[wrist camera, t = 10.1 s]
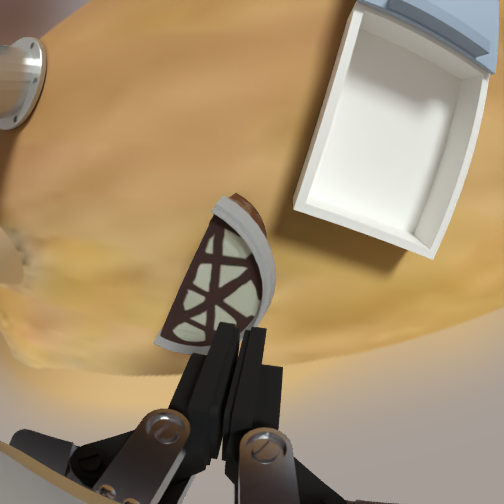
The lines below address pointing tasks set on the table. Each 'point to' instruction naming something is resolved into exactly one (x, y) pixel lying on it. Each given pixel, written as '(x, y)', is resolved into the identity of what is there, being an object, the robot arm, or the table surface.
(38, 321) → the table surface
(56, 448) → the robot arm
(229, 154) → the table surface
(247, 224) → the food container
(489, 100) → the table surface
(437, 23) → the lid
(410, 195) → the white rectangular tray
